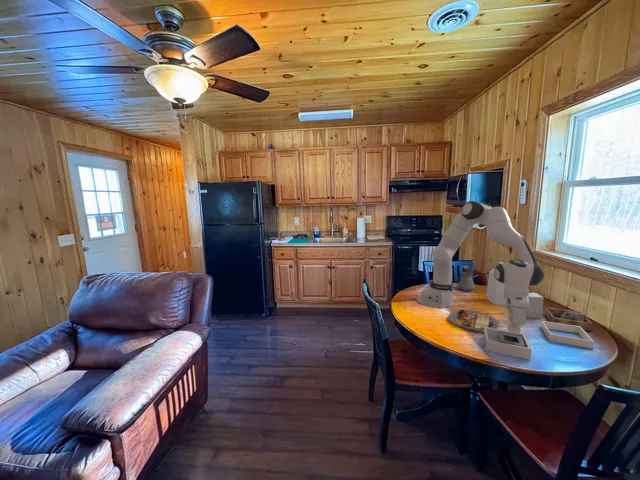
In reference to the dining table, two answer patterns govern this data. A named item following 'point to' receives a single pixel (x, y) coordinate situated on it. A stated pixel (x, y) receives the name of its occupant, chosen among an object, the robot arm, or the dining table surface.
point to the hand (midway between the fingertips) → (513, 325)
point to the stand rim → (558, 312)
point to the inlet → (510, 339)
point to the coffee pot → (468, 281)
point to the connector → (510, 328)
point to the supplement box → (535, 306)
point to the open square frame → (583, 342)
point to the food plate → (479, 319)
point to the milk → (495, 290)
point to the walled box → (504, 348)
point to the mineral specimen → (573, 316)
